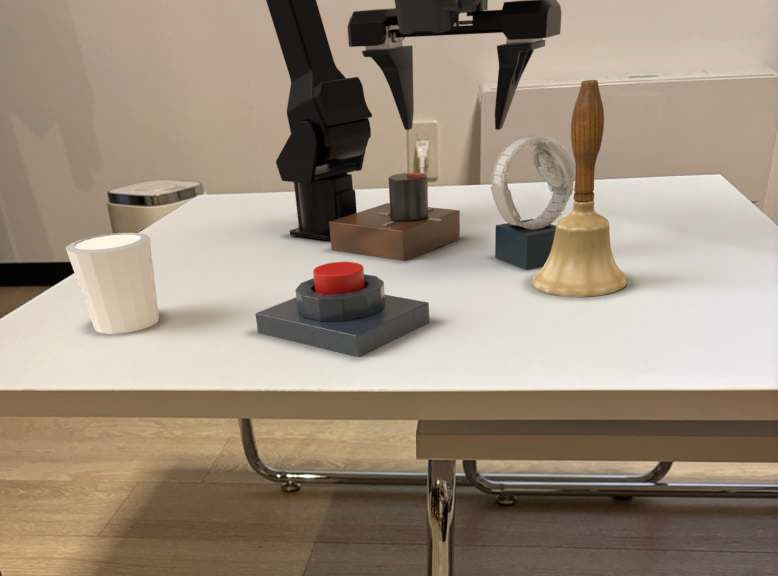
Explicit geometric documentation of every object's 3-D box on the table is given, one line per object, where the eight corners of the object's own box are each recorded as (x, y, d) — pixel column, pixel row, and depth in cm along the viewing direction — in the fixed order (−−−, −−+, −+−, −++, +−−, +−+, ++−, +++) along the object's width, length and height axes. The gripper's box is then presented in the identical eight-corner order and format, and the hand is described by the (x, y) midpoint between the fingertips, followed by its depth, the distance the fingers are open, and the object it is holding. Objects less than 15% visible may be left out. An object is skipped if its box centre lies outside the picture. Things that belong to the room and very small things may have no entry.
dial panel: (331, 250, 89) (328, 220, 88) (388, 230, 96) (387, 201, 94) (412, 262, 83) (411, 230, 81) (468, 240, 89) (468, 209, 88)
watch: (580, 258, 80) (589, 134, 74) (510, 273, 78) (513, 145, 72) (547, 247, 85) (552, 128, 79) (479, 260, 82) (480, 139, 76)
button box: (257, 333, 68) (251, 290, 66) (330, 303, 74) (326, 263, 72) (358, 357, 62) (355, 311, 60) (429, 322, 67) (428, 279, 65)
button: (304, 293, 66) (302, 271, 65) (338, 280, 68) (336, 259, 67) (342, 301, 64) (340, 278, 63) (375, 287, 66) (373, 265, 65)
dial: (382, 219, 87) (380, 175, 84) (405, 211, 89) (404, 168, 87) (413, 222, 84) (411, 177, 82) (435, 214, 87) (435, 170, 85)
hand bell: (571, 304, 69) (586, 88, 60) (513, 282, 75) (518, 83, 67) (647, 285, 72) (671, 76, 63) (585, 265, 78) (599, 73, 70)
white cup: (125, 340, 68) (104, 254, 65) (70, 330, 72) (47, 248, 68) (182, 315, 73) (166, 234, 69) (127, 307, 76) (109, 228, 73)
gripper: (312, -65, 68) (329, 142, 77) (533, -87, 61) (524, 143, 70) (368, -62, 77) (377, 125, 85) (568, -81, 70) (556, 124, 78)
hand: (452, 129), depth 79 cm, fingers open, 9 cm apart
